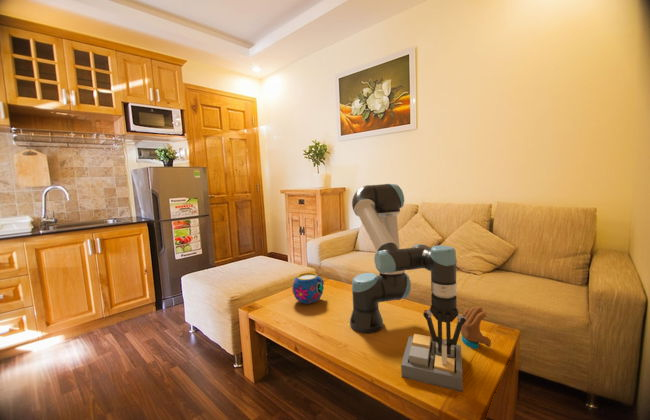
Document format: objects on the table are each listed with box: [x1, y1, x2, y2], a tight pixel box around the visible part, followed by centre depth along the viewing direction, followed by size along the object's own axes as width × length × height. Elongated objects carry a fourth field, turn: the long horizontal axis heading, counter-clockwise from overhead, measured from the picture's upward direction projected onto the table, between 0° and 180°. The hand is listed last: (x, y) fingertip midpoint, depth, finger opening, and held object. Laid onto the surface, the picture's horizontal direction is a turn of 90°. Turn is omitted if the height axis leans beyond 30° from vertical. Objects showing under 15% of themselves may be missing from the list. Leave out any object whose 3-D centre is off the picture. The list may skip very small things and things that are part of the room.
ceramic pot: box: [291, 272, 325, 304], centre depth 156 cm, size 18×18×15 cm
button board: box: [400, 335, 464, 393], centre depth 97 cm, size 18×18×4 cm
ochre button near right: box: [434, 355, 454, 373], centre depth 92 cm, size 6×6×4 cm
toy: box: [460, 306, 492, 350], centre depth 108 cm, size 12×7×15 cm, turn 5°
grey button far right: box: [436, 338, 454, 358], centre depth 99 cm, size 6×6×4 cm
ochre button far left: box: [412, 333, 432, 353], centre depth 102 cm, size 6×6×4 cm
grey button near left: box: [409, 345, 429, 367], centre depth 95 cm, size 6×6×4 cm
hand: (444, 361), depth 91 cm, fingers closed
